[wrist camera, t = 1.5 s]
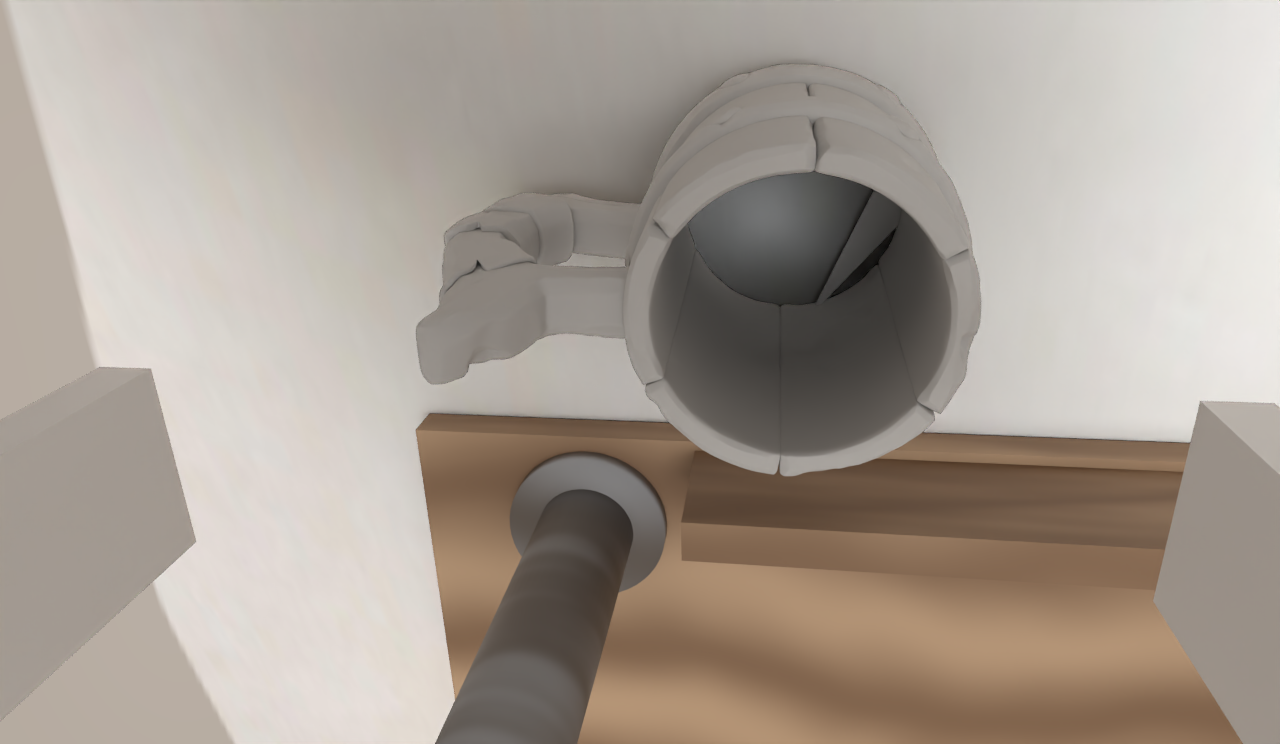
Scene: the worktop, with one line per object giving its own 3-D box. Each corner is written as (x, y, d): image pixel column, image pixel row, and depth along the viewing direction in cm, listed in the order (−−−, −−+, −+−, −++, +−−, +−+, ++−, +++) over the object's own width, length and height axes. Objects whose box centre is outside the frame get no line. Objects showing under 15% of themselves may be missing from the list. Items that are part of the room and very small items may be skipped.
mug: (919, 336, 25) (1022, 592, 15) (525, 323, 27) (353, 543, 16) (951, 57, 22) (1111, 118, 12) (505, 62, 24) (278, 118, 13)
